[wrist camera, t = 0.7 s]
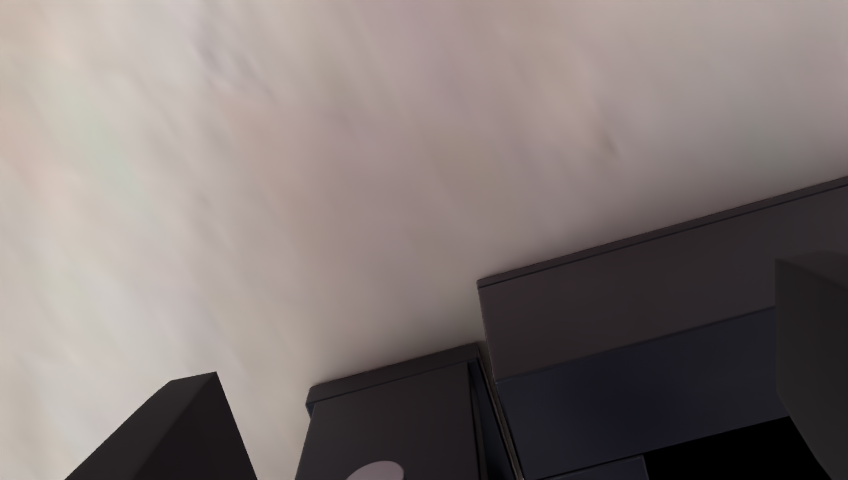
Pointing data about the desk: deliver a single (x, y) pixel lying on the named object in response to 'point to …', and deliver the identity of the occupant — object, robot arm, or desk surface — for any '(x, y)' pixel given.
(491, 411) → the lever bracket
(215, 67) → the desk surface
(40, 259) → the desk surface
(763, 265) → the toaster
